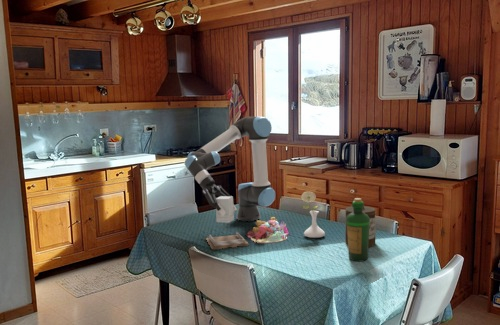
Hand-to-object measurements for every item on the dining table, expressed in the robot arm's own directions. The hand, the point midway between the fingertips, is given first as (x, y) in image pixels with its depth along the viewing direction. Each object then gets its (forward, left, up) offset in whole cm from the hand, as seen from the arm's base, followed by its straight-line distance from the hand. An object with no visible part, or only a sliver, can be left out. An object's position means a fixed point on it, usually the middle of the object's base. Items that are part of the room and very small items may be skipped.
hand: (230, 212), depth 244 cm
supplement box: (+2, -2, -5) cm, 6 cm away
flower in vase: (-45, +3, -17) cm, 48 cm away
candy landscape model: (-23, -6, -17) cm, 29 cm away
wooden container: (-62, +24, -17) cm, 68 cm away
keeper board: (+2, -3, -17) cm, 17 cm away
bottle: (-50, +44, -17) cm, 69 cm away
